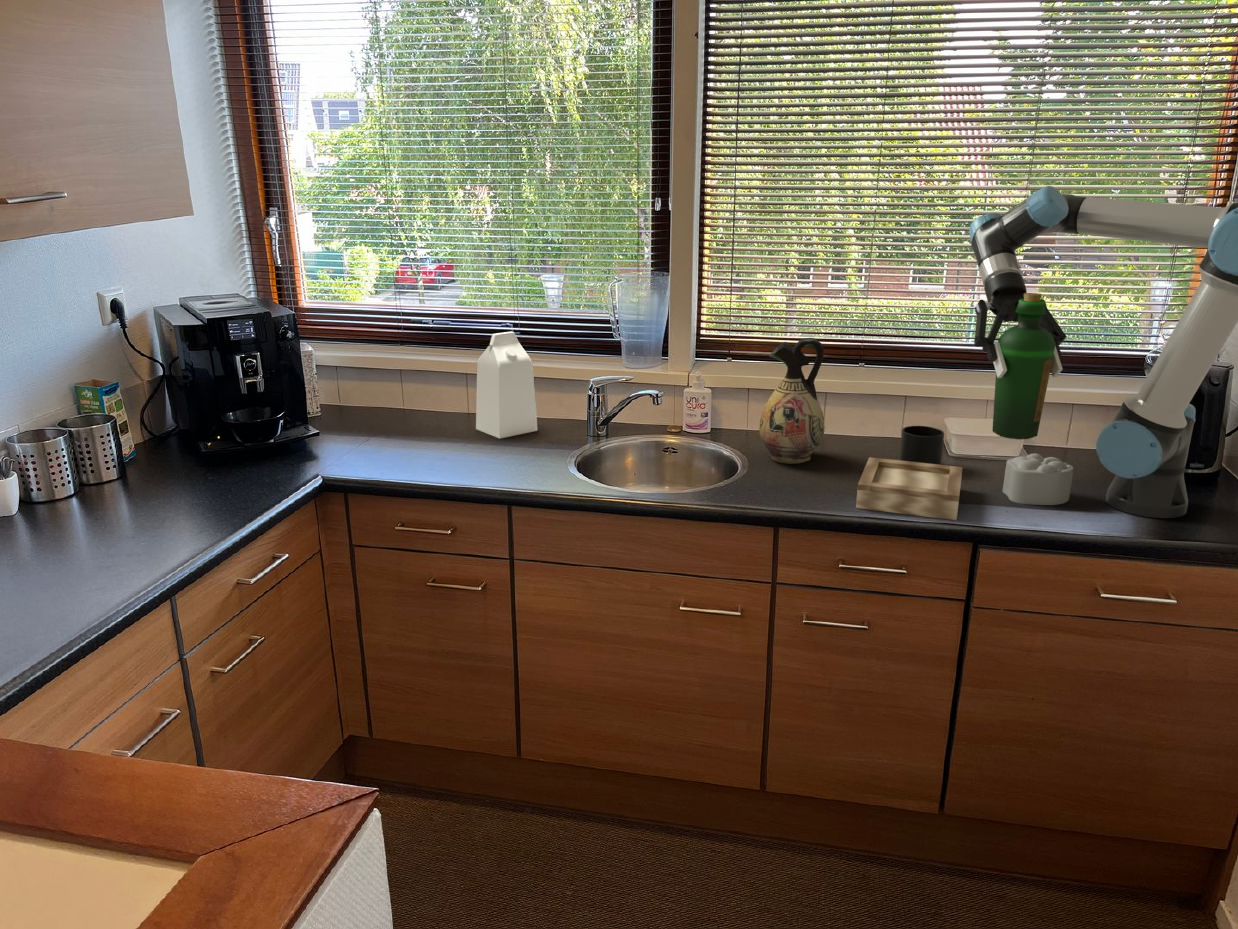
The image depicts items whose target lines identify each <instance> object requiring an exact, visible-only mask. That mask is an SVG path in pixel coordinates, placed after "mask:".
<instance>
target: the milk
mask: <svg viewBox="0 0 1238 929" xmlns="http://www.w3.org/2000/svg"><path fill="white" fill-rule="evenodd" d="M475 402H476V405H475V406H476V408H475V411H476V412H475V430H476V431H479V432H482V433H485V434H487V435H490V436H492V437H494V438H497V439H504V438H509V437H513V436H518V435H523V434H527V433H532V432H537V431H538V418H537V404H536V390H535V377H534V366H533V361H532V359H531V357H530V355H529V354H528V353H527V351H526V350H525V349H524V348H523V346H522V345H521V342H519V340H518V337H517V335H516V332H514V331H506V332H505V331H504V332H498V333H497V332H496V333H492V335H491V337H490V343H489V345H488V346H487V347H486V349H485V350H484V351H483V353H482V354H481V355H480V356H479V357H478V360H477V364H476V401H475Z"/></svg>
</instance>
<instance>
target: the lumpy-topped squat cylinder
mask: <svg viewBox="0 0 1238 929" xmlns="http://www.w3.org/2000/svg"><path fill="white" fill-rule="evenodd" d="M1005 463H1006V465H1005V471H1004V477H1003V478H1004V480H1003V486H1002V493H1003V494H1004V495H1006V496H1007V497H1008V499H1009V500H1010V501H1011V502H1014V503H1017V504H1023V505H1032V506H1033V505H1035V506H1038V505H1039V506H1055V505H1056V506H1057V505H1061V504H1065V503H1067V502H1068V501H1069V500H1070V493H1071V489H1072V481H1073V475H1074V466H1072V465H1070V464H1068V463H1067V462H1063V461H1062V460H1061V459H1059V458H1058V457H1054V456H1048V457H1045V458H1044V457H1043V456H1042V454H1039V453H1030V454H1028V455H1026V456H1016V457H1014V458H1009V459H1007V460H1006V462H1005Z"/></svg>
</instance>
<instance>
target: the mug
mask: <svg viewBox="0 0 1238 929" xmlns="http://www.w3.org/2000/svg"><path fill="white" fill-rule="evenodd" d="M900 436H901V438H900V447H899V456H898V460H900V461H910V462H919V463H929V464H938V465H942V456H943V449H944V440H945V431H943V430H942V429H939V428H937V427H933V426H926V425H910V426H909V425H908V426H905V427H903V428H902V430H901V435H900Z"/></svg>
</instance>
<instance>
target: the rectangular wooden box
mask: <svg viewBox="0 0 1238 929" xmlns="http://www.w3.org/2000/svg"><path fill="white" fill-rule="evenodd" d="M963 468H964V467H963V466H956V465H947V464H946V465H945V464H941V465H938V464H929V463H919V462H910V461H900V460H899V459H889V458H880V457H871V456H869V457H868V460H867V462H866V464H865V466H864V469H863V472H862V474H861V476H860V477H859V478H860V479H859V481H858V483H857V489H856V503H855V508H856V509H862V510H869V511H878V512H879V511H880V512H886V513H887V512H888V513H893V514H894V513H895V514H902V515H903V514H904V515H910V516H918V517H928V518H936V519H941V520H950V521H951V520H953V521H957V518H958V512H959V504H960V503H959V502H960V493H961V485H962V477H963Z"/></svg>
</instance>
